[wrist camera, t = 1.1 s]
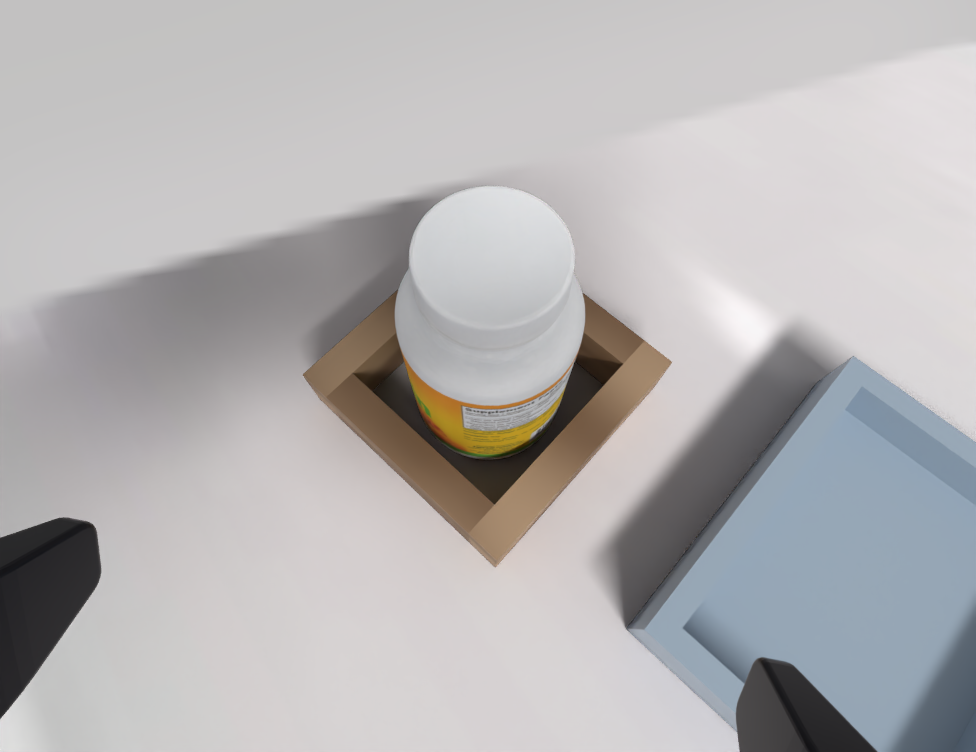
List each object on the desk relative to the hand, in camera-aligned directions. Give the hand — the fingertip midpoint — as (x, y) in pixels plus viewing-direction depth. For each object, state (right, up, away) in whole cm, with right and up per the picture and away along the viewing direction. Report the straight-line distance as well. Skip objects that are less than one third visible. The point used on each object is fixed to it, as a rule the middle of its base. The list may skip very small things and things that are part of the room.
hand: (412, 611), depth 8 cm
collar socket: (+1, +2, +15) cm, 15 cm away
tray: (+13, -4, +13) cm, 19 cm away
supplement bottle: (+1, +2, +15) cm, 16 cm away
